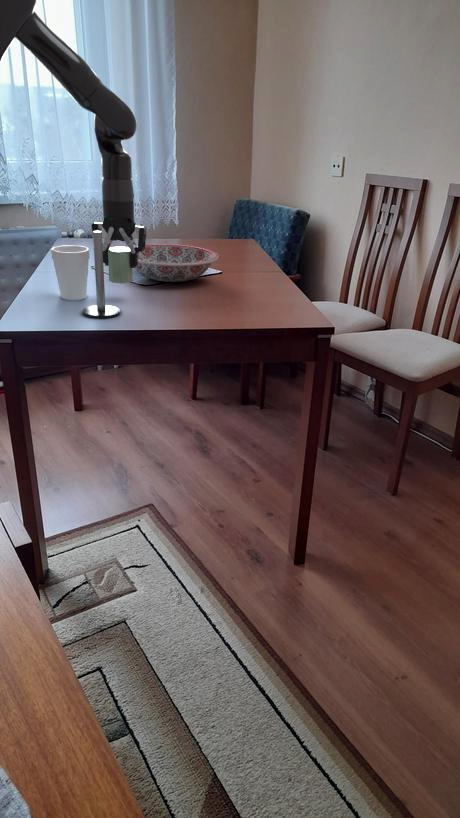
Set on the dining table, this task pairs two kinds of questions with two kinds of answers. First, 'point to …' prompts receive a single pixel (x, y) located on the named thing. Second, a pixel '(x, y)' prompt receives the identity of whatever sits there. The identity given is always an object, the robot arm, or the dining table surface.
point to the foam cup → (71, 270)
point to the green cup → (119, 265)
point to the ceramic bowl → (174, 262)
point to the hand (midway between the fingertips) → (120, 266)
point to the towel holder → (100, 285)
